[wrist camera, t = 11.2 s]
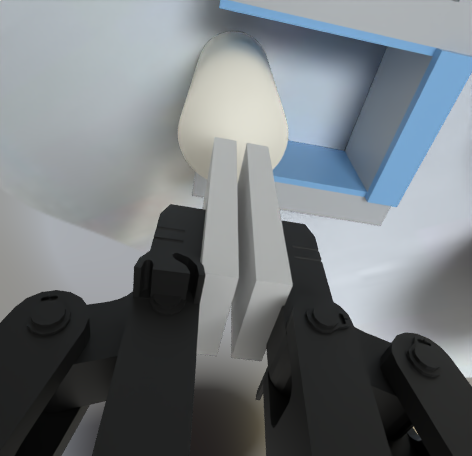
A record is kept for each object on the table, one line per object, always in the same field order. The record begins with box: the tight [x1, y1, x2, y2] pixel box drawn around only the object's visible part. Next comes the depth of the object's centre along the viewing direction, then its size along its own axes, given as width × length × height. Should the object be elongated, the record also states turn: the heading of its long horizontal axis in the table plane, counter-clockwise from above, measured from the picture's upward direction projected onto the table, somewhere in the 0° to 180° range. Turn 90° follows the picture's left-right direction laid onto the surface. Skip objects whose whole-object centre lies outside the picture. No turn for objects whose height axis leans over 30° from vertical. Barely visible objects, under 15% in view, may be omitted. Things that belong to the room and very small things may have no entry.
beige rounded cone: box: [178, 31, 288, 184], centre depth 20 cm, size 5×5×11 cm
